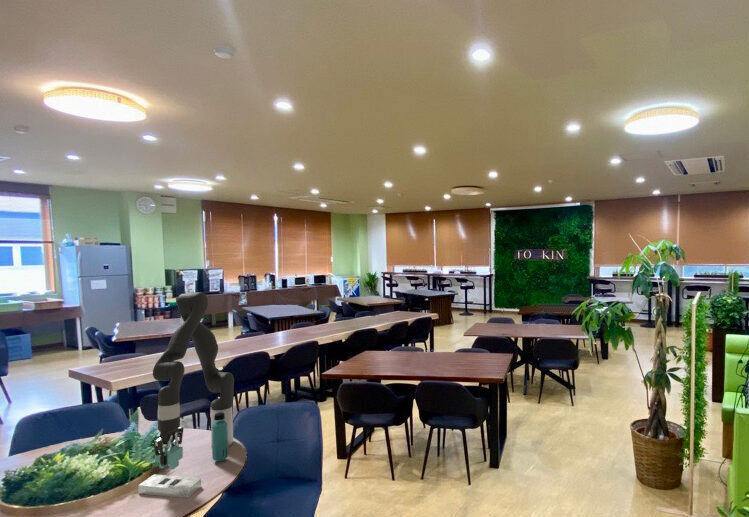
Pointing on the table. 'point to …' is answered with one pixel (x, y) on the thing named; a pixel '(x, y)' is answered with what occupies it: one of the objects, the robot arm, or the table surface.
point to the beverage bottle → (219, 438)
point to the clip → (171, 456)
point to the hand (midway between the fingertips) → (169, 461)
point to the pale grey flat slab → (169, 486)
